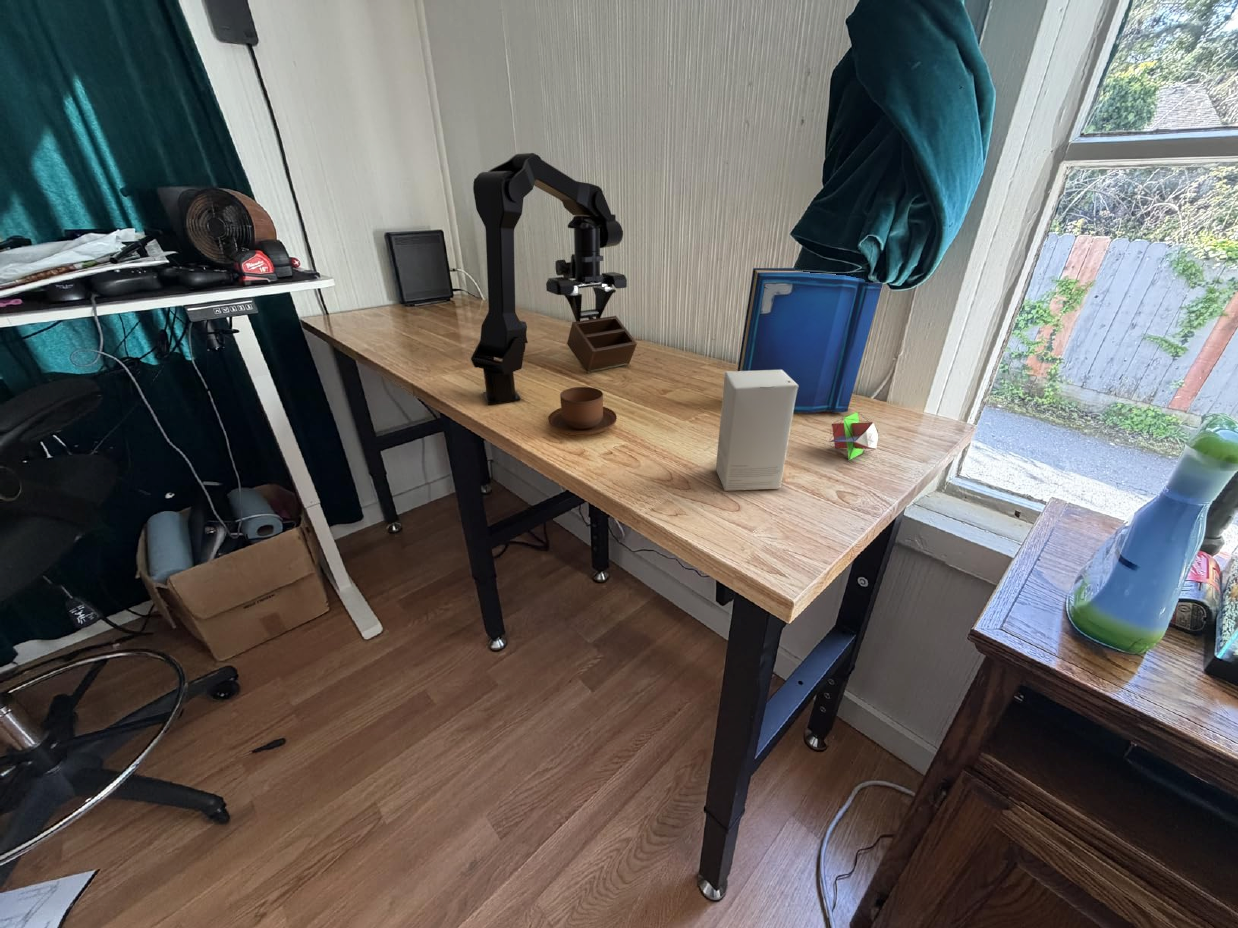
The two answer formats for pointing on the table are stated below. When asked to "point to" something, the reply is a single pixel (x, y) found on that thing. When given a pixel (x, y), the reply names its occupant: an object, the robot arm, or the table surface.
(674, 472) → the table surface
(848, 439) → the geometric puzzle
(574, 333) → the shelf
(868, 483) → the table surface
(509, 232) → the robot arm
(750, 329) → the book
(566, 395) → the cup and saucer
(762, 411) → the cosmetic box
